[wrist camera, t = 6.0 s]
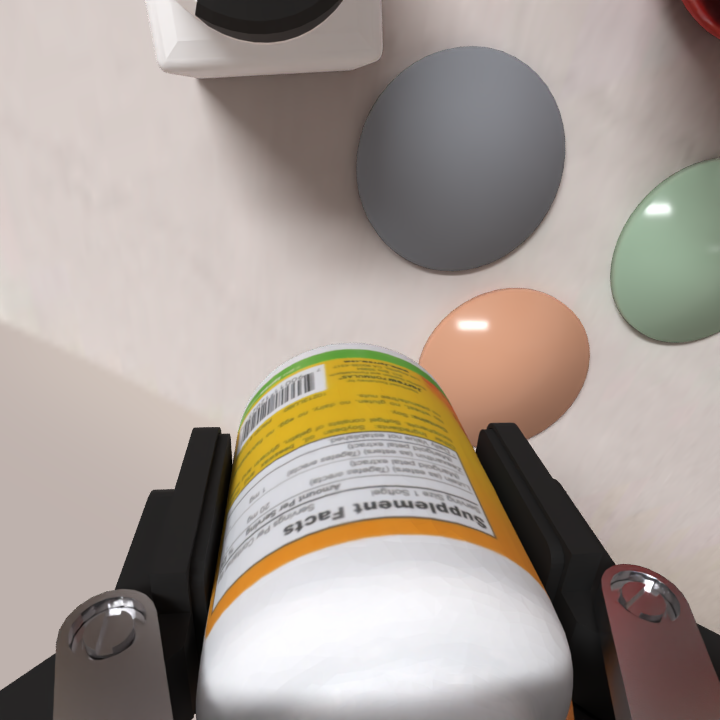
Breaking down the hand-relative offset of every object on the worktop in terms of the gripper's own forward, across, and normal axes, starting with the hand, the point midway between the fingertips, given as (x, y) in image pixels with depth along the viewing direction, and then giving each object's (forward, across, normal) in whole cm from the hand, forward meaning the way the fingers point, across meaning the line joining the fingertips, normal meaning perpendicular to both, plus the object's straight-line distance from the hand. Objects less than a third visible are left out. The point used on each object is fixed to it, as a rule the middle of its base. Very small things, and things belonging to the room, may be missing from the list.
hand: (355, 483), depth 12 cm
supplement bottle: (+2, 0, 0) cm, 2 cm away
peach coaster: (+17, -10, +6) cm, 21 cm away
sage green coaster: (+17, -20, -1) cm, 27 cm away
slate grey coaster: (+17, -6, -5) cm, 19 cm away
